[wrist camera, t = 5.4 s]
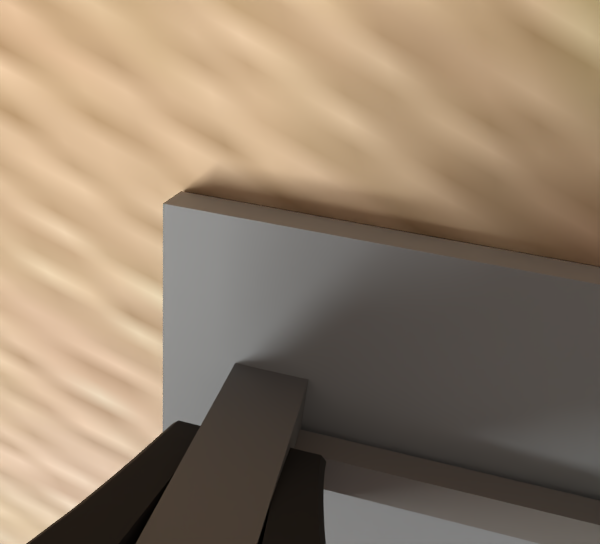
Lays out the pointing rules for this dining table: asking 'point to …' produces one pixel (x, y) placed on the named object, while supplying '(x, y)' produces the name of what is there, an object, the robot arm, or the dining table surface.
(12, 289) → the dining table surface
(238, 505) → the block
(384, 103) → the dining table surface
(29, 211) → the dining table surface
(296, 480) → the robot arm
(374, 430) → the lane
